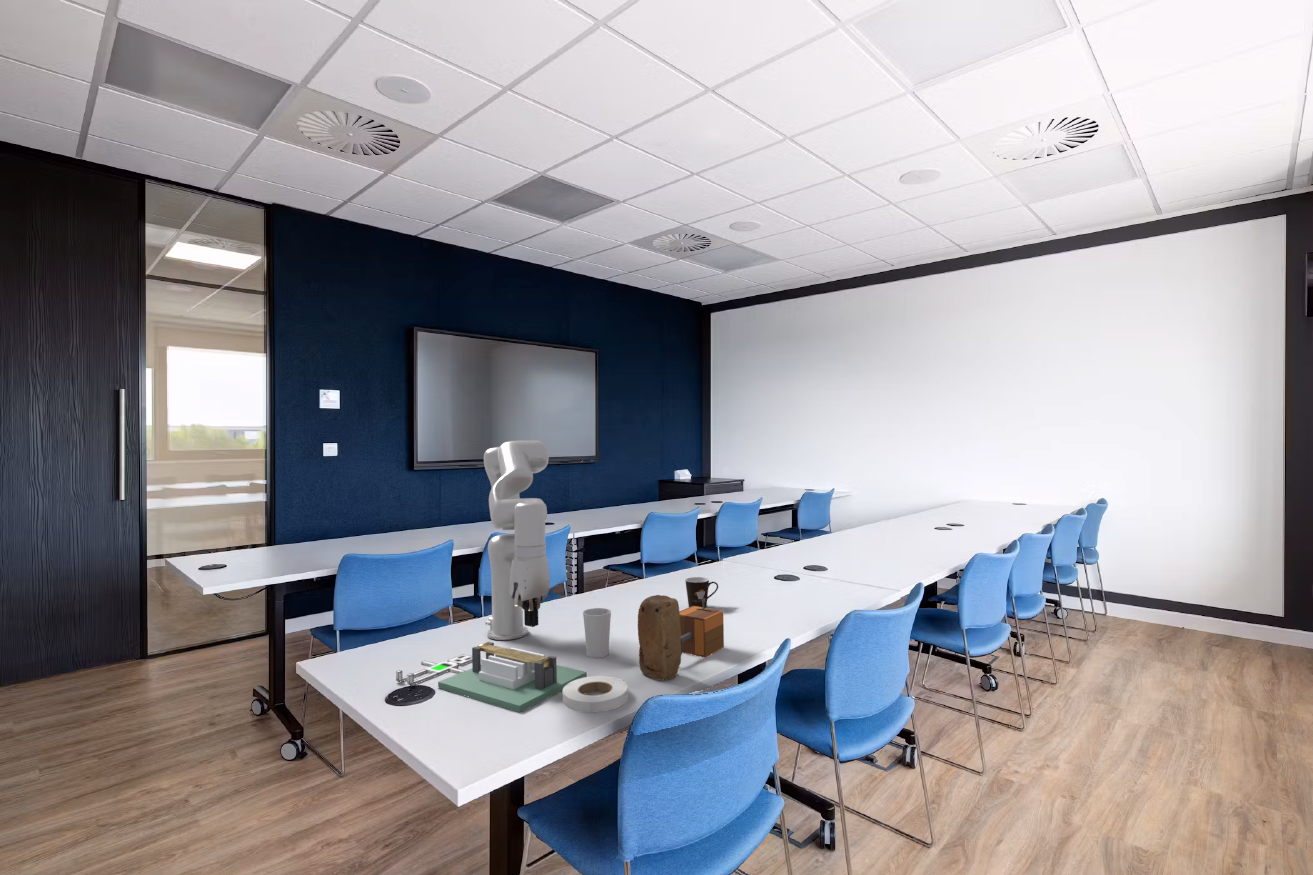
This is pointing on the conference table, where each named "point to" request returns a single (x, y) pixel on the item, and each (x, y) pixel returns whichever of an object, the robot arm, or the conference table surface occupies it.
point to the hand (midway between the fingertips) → (531, 625)
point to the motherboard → (510, 680)
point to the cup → (597, 631)
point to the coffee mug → (698, 591)
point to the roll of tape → (593, 703)
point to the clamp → (701, 630)
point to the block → (659, 637)
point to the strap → (513, 654)
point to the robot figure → (435, 669)
